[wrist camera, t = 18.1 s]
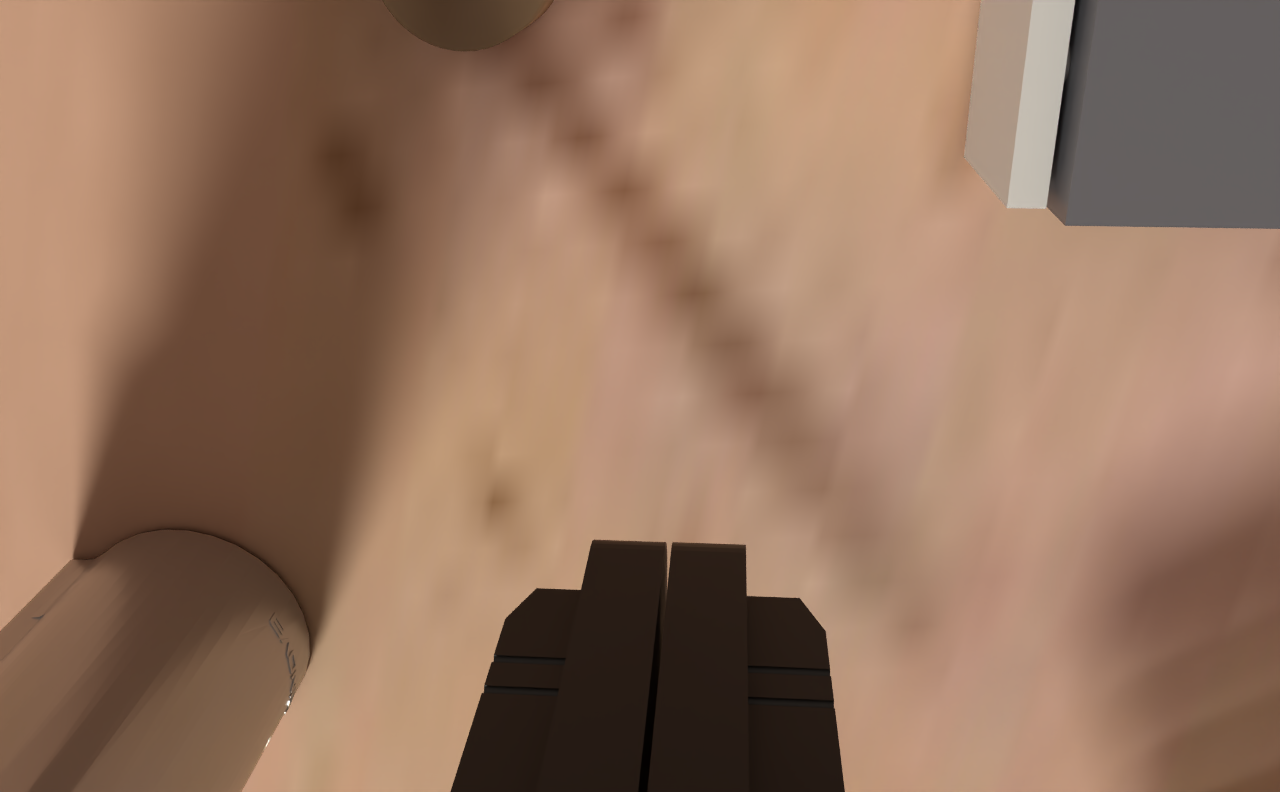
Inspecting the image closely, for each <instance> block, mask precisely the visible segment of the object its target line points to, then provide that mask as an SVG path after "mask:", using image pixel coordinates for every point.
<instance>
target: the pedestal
mask: <svg viewBox="0 0 1280 792" xmlns="http://www.w3.org/2000/svg"><path fill="white" fill-rule="evenodd" d="M553 1H554V0H383V2H384V4H385V5H386V7H387V8H388V9H389V11H390V12H391V14H392V15H393V16H394V17H395V18H396V19H397V21H398V22H399V23H400V24H401V25H402V26H404V27H405V28H406V29H407V30H408V31H409V32H411V33H412V34H414V35H415V36H417V37H418V38H420V39H421V40H423V41H425V42H427V43H429V44H432V45H434V46H437V47H440V48H444V49H448V50H453V51H477V50H481V49H486V48H489V47H492V46H495V45H498V44H500V43H502V42H504V41H505V40H507V39H509V38H511V37H512V36H514V35H515V34H517V33H518V32H520V31H521V30H523V29H524V28H526V27H527V26H529V25H530V24H532V23H533V22H534V21H536V20H537V19H538V18H539V17H540V16H541V15H542V14H543V13H544V12H545V11H546V10H547V9H548V8H549V6H550V5H551V4H552V2H553Z"/></svg>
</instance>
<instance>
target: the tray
mask: <svg viewBox="0 0 1280 792" xmlns="http://www.w3.org/2000/svg"><path fill="white" fill-rule="evenodd" d="M1074 5H1075V0H981V4H980V13H979V23H978V32H977V41H976V50H975V60H974V69H973V78H972V87H971V97H970V106H969V115H968V124H967V134H966V143H965V152H964V158H965V159H966V160H967V162H968V163H969V164H970V165H971V166H972V168H973V169H974V170H975V171H976V172H977V173H978V175H979V176H980V177H981V178H982V179H983V180H984V182H985V183H986V184H987V185H988V186H989V188H990V189H991V190H992V191H993V192H994V193H995V195H996V196H997V197H998V198H999V199H1000V201H1001V202H1002V203H1003V204H1004V205H1005V206H1006V208H1039V209H1046V206H1047V199H1048V192H1049V185H1050V177H1051V170H1052V163H1053V156H1054V149H1055V141H1056V134H1057V127H1058V120H1059V113H1060V106H1061V98H1062V91H1063V84H1064V77H1065V70H1066V63H1067V55H1068V48H1069V41H1070V34H1071V27H1072V19H1073V12H1074Z"/></svg>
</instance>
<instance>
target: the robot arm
mask: <svg viewBox="0 0 1280 792" xmlns="http://www.w3.org/2000/svg"><path fill="white" fill-rule="evenodd" d="M309 657H310V645H309V633H308V629H307V625H306V622H305V618H304V614H303V613H302V611H301V609H300V607H299V605H298V603H297V601H296V599H295V597H294V595H293V594H292V593H291V591H290V590H289V589H288V587H287V586H286V585H285V584H284V582H283V581H282V580H281V579H280V577H279V576H278V575H277V574H276V573H274V572H273V571H272V570H271V569H270V568H269V567H268V566H266V565H265V564H264V563H263V562H262V561H261V560H260V559H258V558H257V557H255V556H253V555H252V554H250V553H248V552H247V551H245V550H243V549H242V548H240V547H238V546H237V545H234V544H232V543H229V542H227V541H224V540H222V539H219V538H217V537H214V536H212V535H207V534H202V533H197V532H193V531H188V530H157V531H152V532H146V533H140V534H137V535H135V536H132V537H130V538H128V539H125V540H123V541H120V542H118V543H117V544H116V545H114V546H113V547H112V548H110V549H109V550H108V551H106V552H105V553H103V554H102V555H100V556H99V557H97V558H95V559H89V560H77V559H74V560H70V561H69V562H68V563H67V564H66V565H65V566H64V567H63V569H62V570H61V571H60V572H59V573H58V574H57V575H56V576H55V577H54V578H53V579H52V580H51V581H50V582H49V583H48V584H47V585H46V586H45V587H44V588H43V589H42V590H41V591H40V592H39V593H38V594H37V595H36V596H35V597H34V598H33V599H32V600H31V601H30V602H29V603H28V604H27V605H26V606H25V607H24V608H23V609H22V610H21V611H20V612H19V613H18V614H17V615H16V616H15V617H14V618H13V619H12V620H11V621H10V622H9V623H8V624H7V625H6V626H5V627H4V628H3V629H2V630H1V631H0V792H242V790H243V788H244V786H245V784H246V783H247V781H248V779H249V777H250V775H251V773H252V772H253V770H254V768H255V766H256V764H257V763H258V761H259V759H260V757H261V755H262V753H263V752H264V750H265V748H266V746H267V744H268V743H269V741H270V739H271V737H272V735H273V733H274V731H275V730H276V728H277V726H278V724H279V722H280V720H281V719H282V717H283V715H284V714H286V712H287V710H288V708H289V707H290V705H291V702H292V699H293V697H294V694H295V693H296V691H297V689H298V687H299V685H300V683H301V681H302V680H303V678H304V676H305V673H306V669H307V665H308V661H309ZM451 792H845V790H844V781H843V773H842V765H841V756H840V748H839V740H838V731H837V723H836V715H835V709H834V698H833V689H832V681H831V676H830V664H829V656H828V648H827V639H826V631H825V630H824V629H823V627H822V626H821V625H820V624H819V622H818V621H817V620H816V619H815V617H814V616H813V615H812V613H811V612H810V611H809V610H808V608H807V607H806V606H805V604H804V603H803V602H802V601H801V599H800V598H781V597H755V596H747V593H746V545H735V544H706V543H678V542H673V543H672V548H671V558H670V568H669V579H668V589H667V544H666V542H642V541H613V540H593V541H592V544H591V547H590V552H589V556H588V561H587V565H586V570H585V574H584V579H583V583H582V588H581V590H565V589H539V588H537V589H536V590H534V591H533V592H532V593H531V594H530V595H529V596H528V597H527V598H526V599H525V600H524V601H523V602H522V603H521V604H520V605H519V606H518V607H517V608H516V609H515V610H514V611H513V612H512V613H511V614H510V615H509V616H508V617H507V618H506V619H505V622H504V625H503V628H502V631H501V634H500V638H499V641H498V644H497V647H496V650H495V653H494V662H492V663H491V666H490V669H489V672H488V675H487V679H486V682H485V685H484V693H482V694H481V697H480V701H479V704H478V707H477V710H476V713H475V716H474V720H473V723H472V726H471V729H470V732H469V735H468V739H467V742H466V745H465V748H464V751H463V754H462V757H461V761H460V764H459V767H458V770H457V773H456V776H455V780H454V783H453V786H452V789H451Z"/></svg>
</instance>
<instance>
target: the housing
mask: <svg viewBox="0 0 1280 792" xmlns="http://www.w3.org/2000/svg"><path fill="white" fill-rule="evenodd" d="M1047 208H1048V209H1049V210H1050V211H1051V212H1052V213H1053V214H1054V215H1055V216H1056V217H1057V218H1058V219H1059V220H1060V221H1061V222H1062V223H1063V224H1064V225H1065V226H1130V227H1197V228H1263V229H1280V0H1075V5H1074V12H1073V19H1072V27H1071V34H1070V41H1069V48H1068V55H1067V63H1066V70H1065V77H1064V84H1063V91H1062V98H1061V106H1060V113H1059V120H1058V127H1057V134H1056V141H1055V149H1054V156H1053V163H1052V170H1051V177H1050V185H1049V192H1048V199H1047Z"/></svg>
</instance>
